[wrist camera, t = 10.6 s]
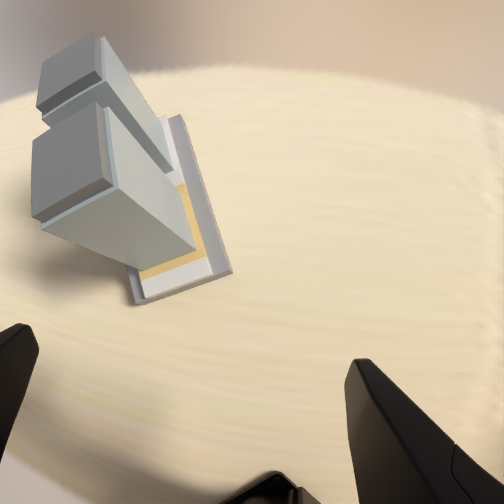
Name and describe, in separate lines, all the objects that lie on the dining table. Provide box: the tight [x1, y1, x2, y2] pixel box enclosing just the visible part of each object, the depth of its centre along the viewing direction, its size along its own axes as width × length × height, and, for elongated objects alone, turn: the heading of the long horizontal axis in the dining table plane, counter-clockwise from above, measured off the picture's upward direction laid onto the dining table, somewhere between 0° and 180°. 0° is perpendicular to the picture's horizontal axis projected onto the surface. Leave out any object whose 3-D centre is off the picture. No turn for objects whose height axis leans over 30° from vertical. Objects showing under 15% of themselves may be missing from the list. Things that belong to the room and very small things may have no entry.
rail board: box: [126, 114, 233, 305], centre depth 23 cm, size 14×7×2 cm, turn 19°
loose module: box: [31, 101, 197, 271], centre depth 16 cm, size 4×4×11 cm
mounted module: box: [36, 31, 174, 174], centre depth 18 cm, size 4×4×11 cm
